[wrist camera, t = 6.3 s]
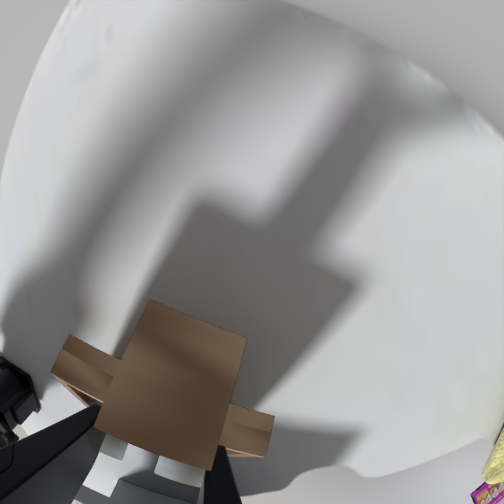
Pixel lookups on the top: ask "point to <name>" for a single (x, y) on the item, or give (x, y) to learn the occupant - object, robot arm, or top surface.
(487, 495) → the candy bar box
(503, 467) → the lettuce
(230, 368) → the walnut tray
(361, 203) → the top surface
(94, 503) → the grey piece
